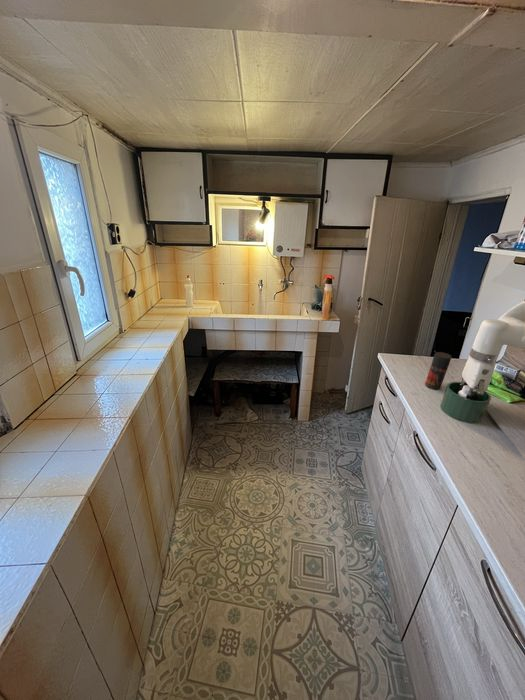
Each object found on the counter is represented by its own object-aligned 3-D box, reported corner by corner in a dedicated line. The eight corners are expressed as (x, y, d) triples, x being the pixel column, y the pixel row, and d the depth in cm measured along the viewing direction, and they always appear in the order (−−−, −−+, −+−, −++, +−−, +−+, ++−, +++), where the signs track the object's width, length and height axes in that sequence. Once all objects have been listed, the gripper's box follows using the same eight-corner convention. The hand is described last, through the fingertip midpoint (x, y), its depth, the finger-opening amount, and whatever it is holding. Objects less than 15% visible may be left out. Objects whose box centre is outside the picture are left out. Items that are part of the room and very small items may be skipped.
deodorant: (424, 381, 125) (434, 350, 119) (439, 384, 123) (450, 354, 117) (425, 387, 120) (435, 356, 114) (440, 391, 118) (452, 359, 112)
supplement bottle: (451, 411, 105) (460, 388, 100) (452, 404, 109) (461, 382, 105) (469, 416, 102) (478, 393, 98) (469, 409, 106) (478, 387, 102)
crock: (472, 404, 110) (481, 385, 106) (488, 426, 98) (498, 405, 94) (435, 398, 113) (442, 379, 109) (446, 419, 101) (454, 398, 97)
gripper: (509, 368, 87) (487, 415, 95) (484, 347, 102) (467, 389, 110) (482, 365, 89) (462, 411, 96) (461, 344, 104) (446, 386, 112)
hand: (465, 399), depth 103 cm, fingers closed on supplement bottle, 5 cm apart
